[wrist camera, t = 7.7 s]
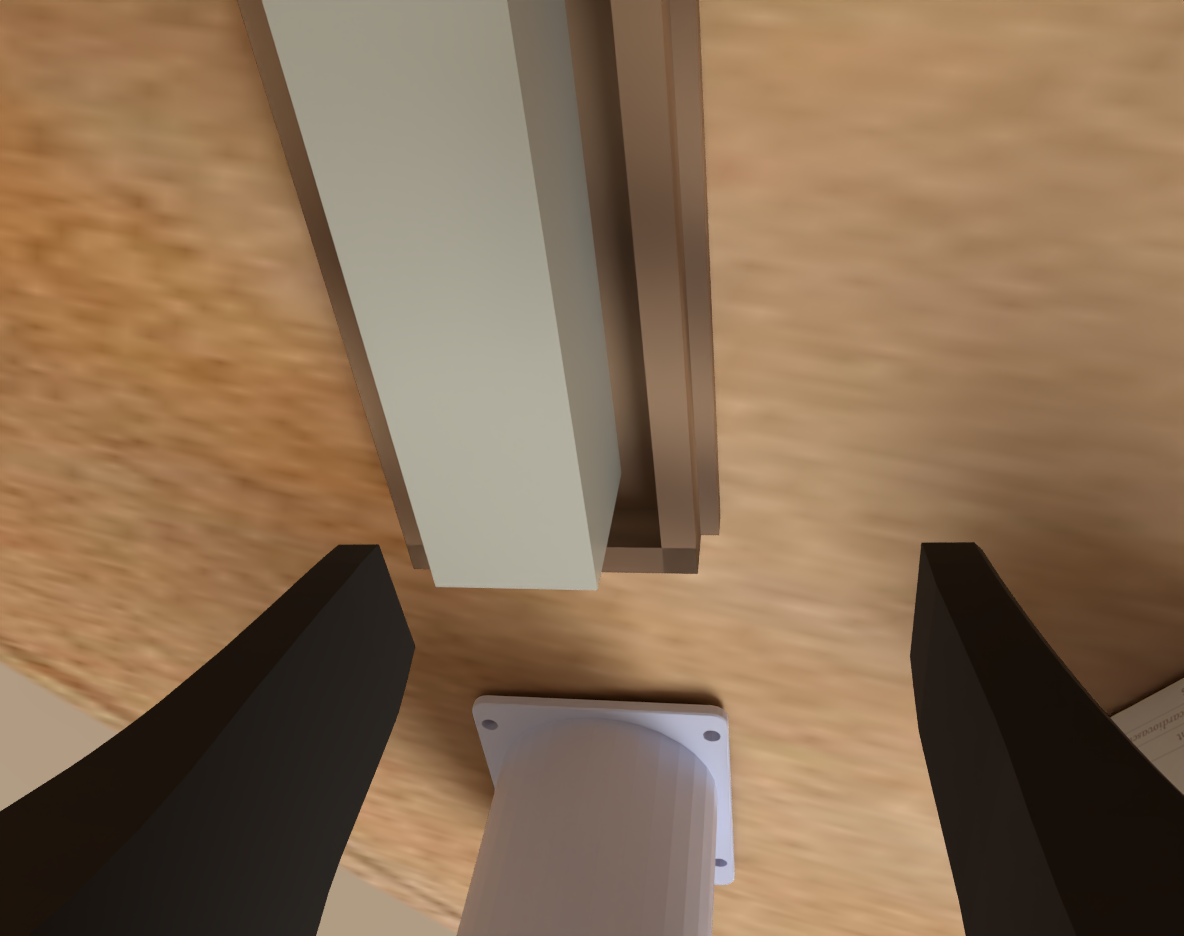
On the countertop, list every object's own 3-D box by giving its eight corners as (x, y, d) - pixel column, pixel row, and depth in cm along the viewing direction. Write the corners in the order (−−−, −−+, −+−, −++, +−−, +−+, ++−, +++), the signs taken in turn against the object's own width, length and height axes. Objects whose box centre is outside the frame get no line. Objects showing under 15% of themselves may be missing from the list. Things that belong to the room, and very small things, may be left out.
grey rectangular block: (621, 473, 22) (597, 590, 19) (481, 473, 23) (435, 586, 19) (550, -116, 15) (493, -88, 12) (350, -91, 15) (244, -57, 12)
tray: (720, 514, 23) (717, 574, 21) (422, 512, 25) (397, 568, 23) (687, -266, 14) (676, -273, 12) (218, -193, 16) (149, -191, 14)
